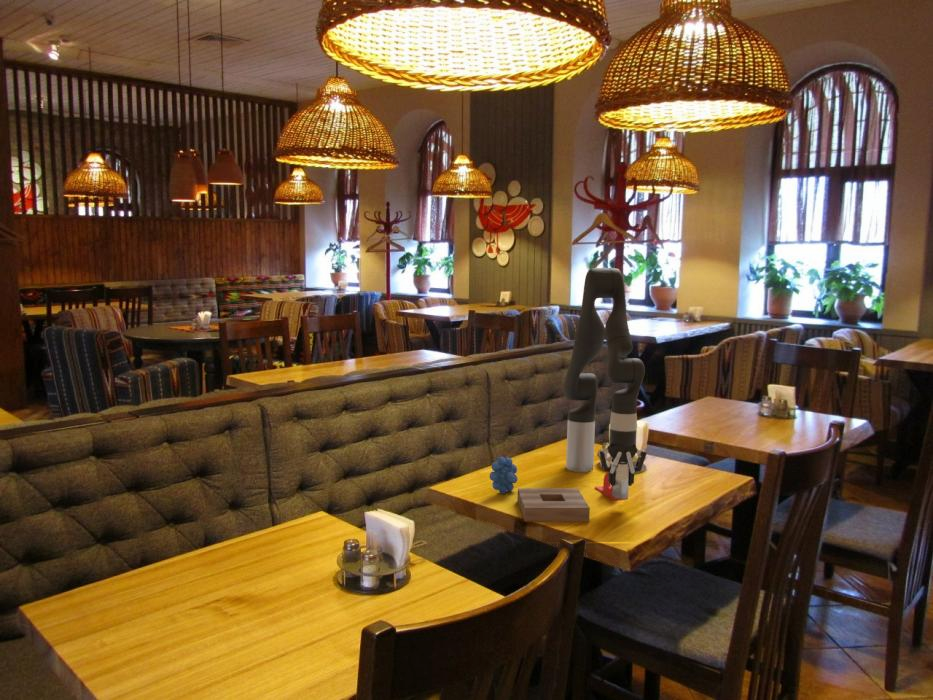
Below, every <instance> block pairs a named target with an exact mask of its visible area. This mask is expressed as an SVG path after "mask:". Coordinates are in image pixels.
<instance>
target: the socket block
mask: <svg viewBox="0 0 933 700" xmlns="http://www.w3.org/2000/svg"><path fill="white" fill-rule="evenodd" d="M583 496H584V495H583V494H582V493H581V492H580V489H578V488H548V487H547V488H541V487H540V488H538V487H537V488H534V487H533V488H528V487H527V488H525V487H523V488H521V487H518V488H517V503H518V507H519V510H520V513H521V515H522V519H523V521H524V522H525V523H526V522H528V523H529V522H533V523H535V522H537V523H538V522H540V523H543V522H544V523H545V522H547V523H548V522H549V523H550V522H551V523H553V522H554V523H555V522H560V523H561V522H562V523H563V522H564V523H566V522H567V523H570V522H571V523H572V522H575V523H576V522H578V523H580V522H581V523H585V522H587V523H588V522H590V509H591V507H590V506H589V504H588V503H587V501H586V499H585V498H584V497H583Z"/></svg>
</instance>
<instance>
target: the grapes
mask: <svg viewBox="0 0 933 700" xmlns="http://www.w3.org/2000/svg"><path fill="white" fill-rule="evenodd" d="M513 461H514V460H513V459H512V458H511V457H508V456H507V457H504V456H499V457H497V460H496V461H494V462H492V464H491V470H492V471H491V472H490V473H489V475H488V476H489V479H490V481H492V484H491V486H492V489H493V490H495V491H498V492H499V493H500V494H501V495H505V494H506V493H507V492H512V491H513V490H514V484H516V483H518V480H519V478H518V476H517V475H516V473H517V472H518V467H517V465H515V464H513V463H514V462H513Z"/></svg>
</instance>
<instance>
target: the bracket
mask: <svg viewBox="0 0 933 700" xmlns="http://www.w3.org/2000/svg"><path fill="white" fill-rule="evenodd" d="M608 475H609V472H606V473H605V474H604V477H603V485H600V486H594V489H595V490H596V491H598V490H599V491H598V492H600V493H602V494H603V495H605V496H606V497H608V498H609V499H612V500H613V501H620V500H622V499H620V498H615V497H613V486H611V484H610V483H609V481H608ZM628 499H629V497H628V498H625V499H624V500H628Z"/></svg>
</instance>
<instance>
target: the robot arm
mask: <svg viewBox="0 0 933 700" xmlns="http://www.w3.org/2000/svg"><path fill="white" fill-rule="evenodd" d="M584 279H585V280H584V285H583V292H582V302H581V309H580V314H579V318H578V319H579V320H578V323H577V327H576V332H575V336H574V340H573V341H574V343H573V346H572V347H573V348H572V353H571V358H570V362H569V364H568V369H567V371H566V375H565V378H564V384H563V395H564V397H565V398H566V399H567V400H569V401H584V402H583V403H582V404H580V405H579V406H577V407H575V408H572V409H570V410H569V411H568V412H567V431H566V432H567V433H566V437H567V438H566V459H565V460H566V465H565V469H566V468H567V469H566V470H568V471H569V470H570V472H573V471H574V472H575V473H589V472H588V471H590V472H592V471H591V470H594V461H595V459H594V458H595V455H594V454H595V435H596V434H595V431H596V429H595V428H596V427H595V426H596V412H597V400H598V399H597V397H598V389H599V388H598V387H599V385H598V378H597V375H596V374H594V373H591V372H590V373H589V372H587V373H586V372H585V373H584V372H582V371H583V370H584V369H585V368H586V367H587V366H588V364H590V363H591V362H592V361H594V359H595V358H596V357H597V356H598V355H599V354H600V352H601V351H602V349H603V346H604V343H605V341H606V345H607V353H608V354H607V366H606V375H607V377H608V380H609V381H611V382H612V383H614V384H627V386H626V387H625V388H623V389H619V390H616V391H614V392H613V393H612V396H611V413H610V419H609V421H610V422H609V438H608V439H609V440H608V442H609V443H608V446H607V448H605V449H603V450H602V449H599V450H598V452H597V453H598V456H599V457H598V458H599V460H600V464H601V467H602V469H603V471H604V472H606V473H608V472H609V475H608V481H609V483H610V485H611V487H612V486H614V480H615V473H614V471H615V468H616V466H617V464H618V463H620V462H625V463H628V464H629V468H630V471H629V487H632V486H633V485H634V483H635V473H637V472H641V471H642V469H643V468H642V467H643V465H644V462H645V459H646V457H647V452H646V451H645V450H644V449H638V448H637V433H638V432H637V429H638V418H637V411H638V409H637V408H638V407H637V406H638V397H639V395H640V394H639V392H640V389H641V387H642V384H643V382H644V378H645V375H646V367H645V364H644V362H643V361H642V359H640V358H636V357H633V358H632V357H630V358H629V357H626V356H628V355H629V354H631V353H632V351H633V347H634V346H633V341H632V337H631V333H630V329H629V324H628V317H627V303H626V302H627V301H626V300H627V299H626V293H625V292H626V290H625V282H624V276H623V274H622V272H621V270H620V269H619V268H615V267H594V268H590V269H588V270H587V272H586V275H585V278H584ZM597 299H612V300H613V308H612V310H611V312H610V314H609V316H608V318H607V320H606V322H605V325H604V322H603V321H602V319H601V317H600V316H599V313H598V312H597V309H596V306H595V305H596V304H595V303H596V301H597ZM623 357H624V358H623ZM608 454H609V455H610V457H611V459H610V461H609V465H608V464H607V463H608V462H607V457H608ZM635 455H636V456H637V459H636V462H635V465H634V461H633V458H634V456H635Z"/></svg>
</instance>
